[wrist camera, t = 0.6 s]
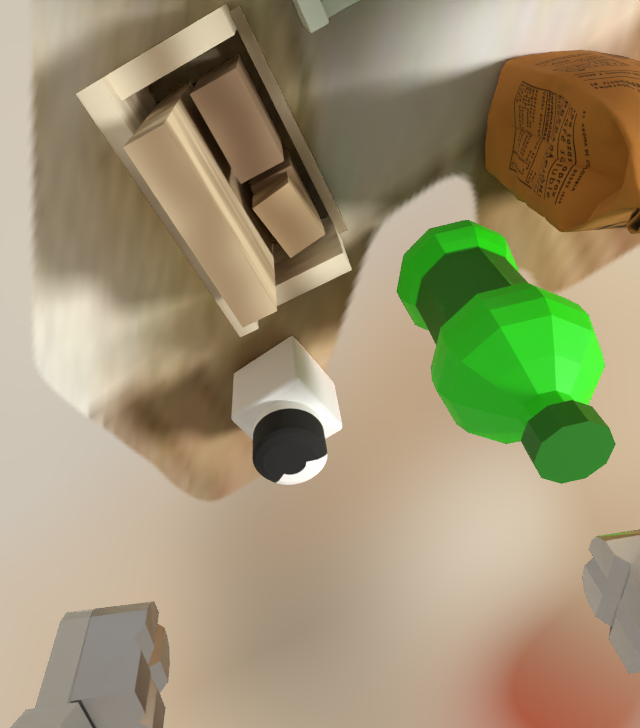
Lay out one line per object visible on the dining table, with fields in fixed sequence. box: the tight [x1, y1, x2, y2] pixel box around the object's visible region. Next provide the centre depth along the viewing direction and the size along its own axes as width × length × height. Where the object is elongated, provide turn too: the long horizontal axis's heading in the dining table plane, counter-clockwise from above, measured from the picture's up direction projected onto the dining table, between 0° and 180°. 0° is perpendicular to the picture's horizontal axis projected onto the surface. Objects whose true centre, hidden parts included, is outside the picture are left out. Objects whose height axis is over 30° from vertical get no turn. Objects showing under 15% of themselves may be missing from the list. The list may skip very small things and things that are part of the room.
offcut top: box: [252, 171, 325, 258], centre depth 41 cm, size 3×4×3 cm
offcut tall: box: [190, 54, 284, 184], centre depth 39 cm, size 3×6×8 cm, turn 26°
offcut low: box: [250, 149, 320, 218], centre depth 44 cm, size 3×5×5 cm, turn 26°
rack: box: [76, 3, 352, 337], centre depth 40 cm, size 10×18×10 cm, turn 26°
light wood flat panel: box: [123, 82, 277, 327], centre depth 39 cm, size 2×12×15 cm, turn 26°
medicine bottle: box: [231, 336, 342, 485], centre depth 51 cm, size 7×7×12 cm
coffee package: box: [485, 50, 640, 234], centre depth 36 cm, size 10×12×22 cm
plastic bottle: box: [397, 220, 615, 483], centre depth 41 cm, size 10×10×25 cm
